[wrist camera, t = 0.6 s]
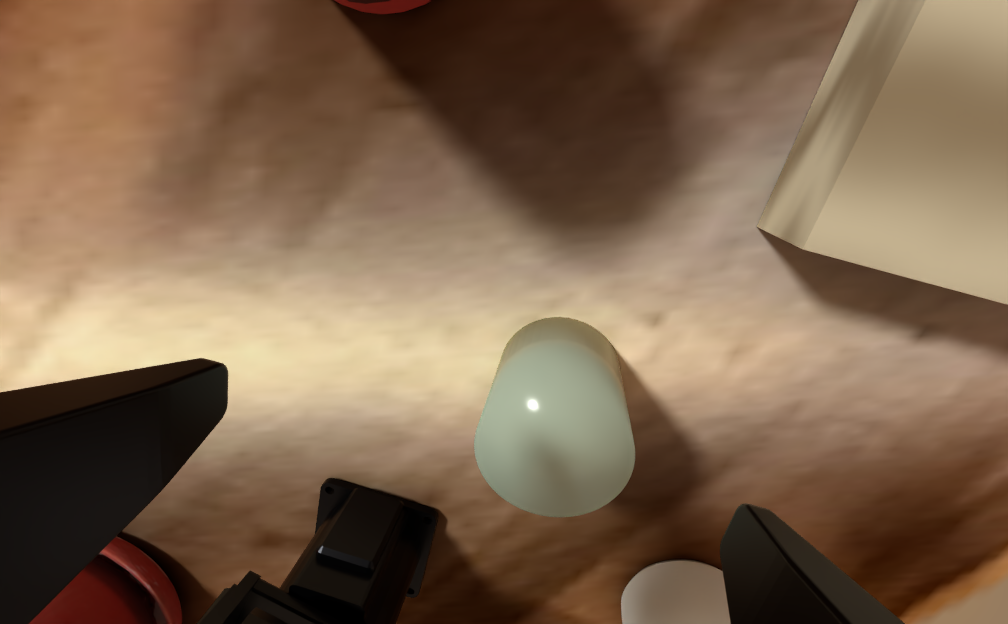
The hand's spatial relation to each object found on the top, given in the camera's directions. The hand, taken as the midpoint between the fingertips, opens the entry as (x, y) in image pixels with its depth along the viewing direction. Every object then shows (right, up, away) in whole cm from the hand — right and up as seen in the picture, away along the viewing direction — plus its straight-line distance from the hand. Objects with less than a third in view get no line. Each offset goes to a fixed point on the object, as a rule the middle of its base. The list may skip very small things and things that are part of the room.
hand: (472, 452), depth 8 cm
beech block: (+16, +9, +8) cm, 20 cm away
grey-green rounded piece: (+3, 0, +14) cm, 14 cm away
